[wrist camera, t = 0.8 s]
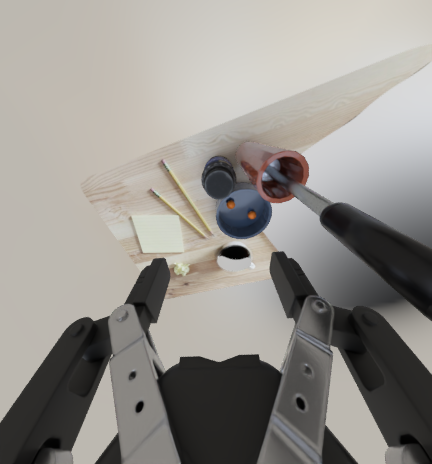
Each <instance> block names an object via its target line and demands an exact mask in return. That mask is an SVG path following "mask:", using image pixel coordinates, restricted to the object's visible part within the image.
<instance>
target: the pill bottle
mask: <svg viewBox="0 0 432 464" xmlns="http://www.w3.org/2000/svg"><path fill="white" fill-rule="evenodd" d="M235 184H236V175H235V172H234V170H233V167H232V165H231V163H230V162H229V160H228V159H227V158H225V157H222V156H216V157H213V158H211V159H210V160H209V161H208V162H207V164H206V166H205V168H204V171H203V174H202V185H203V188H204V189H205V191H206V192H207V194H208V195H209V196H210V197H212V198H214V199H224V198H226V197H228V196H229V195H230V194H231V192H232V190H233V189H234V187H235Z"/></svg>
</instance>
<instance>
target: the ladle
mask: <svg viewBox="0 0 432 464" xmlns="http://www.w3.org/2000/svg"><path fill="white" fill-rule="evenodd" d="M273 179H274V180H275V181H276V182H277V183H279V184H280V185H281V186H282V187H284V188H285V189H286V190H287V191H288V192H290V193H291V194H292V195H293V196H295V197H296V198H297V199H299V200H300V201H301V202H302V203H303V204H305V205H306V206H307V207H308V208H310V209H311V210H312V211H314V212H315V213H316V214H317V215H319V216H320V222H321V224H322V226H323V227H324V228H325V229H326V230H327V231H328V232H330V233H331V234H332V235H333V236H334V237H335V238H336V239H338V240H339V241H340V242H341V243H342V244H343V245H344V246H346V247H347V248H348V249H349V250H350V251H351V252H352V253H354V254H355V255H356V256H357V257H358V258H359V259H360V260H362V261H363V262H364V263H365V264H366V265H367V266H368V267H370V268H371V269H372V270H373V271H374V272H375V273H376V274H378V275H379V276H380V277H381V278H382V279H383V280H384V281H386V282H387V283H388V284H389V285H390V286H392V288H394V289H395V290H396V291H397V292H398V293H399V294H401V295H402V296H403V297H404V298H405V299H406V300H407V301H408V302H410V303H411V304H412V305H413V306H414V307H415V308H416V309H418V310H419V311H420V312H421V313H422V314H423V315H424V316H426V317H427V318H428V319H430V320H431V321H432V249H431V248H429V247H427V246H426V245H423V244H422V243H420V242H418V241H416V240H414V239H413V238H411V237H409V236H407V235H405V234H403V233H401V232H399V231H397V230H396V229H394V228H392V227H390V226H388V225H386V224H384V223H383V222H381V221H379V220H377V219H375V218H373V217H371V216H370V215H368V214H366V213H364V212H362V211H360V210H358V209H356V208H355V207H353V206H351V205H349V204H346V203H333V202H331V201H329V200H328V199H326V198H324V197H322V196H321V195H319V194H318V193H316V192H314V191H313V190H311V189H309V188H307V187H306V186H304V185H302V184H301V183H299V182H297V181H296V180H294V179H292V178H291V177H289V176H287V175H286V174H284V173H282V172H281V171H280V162H279V160H278V159H276V160H275V161H273V162H272V163H271V164H269V165H268V167H267V168H266V170H265V171H264V173H263V176H262V181H264V182H268V181H271V180H273Z"/></svg>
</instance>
